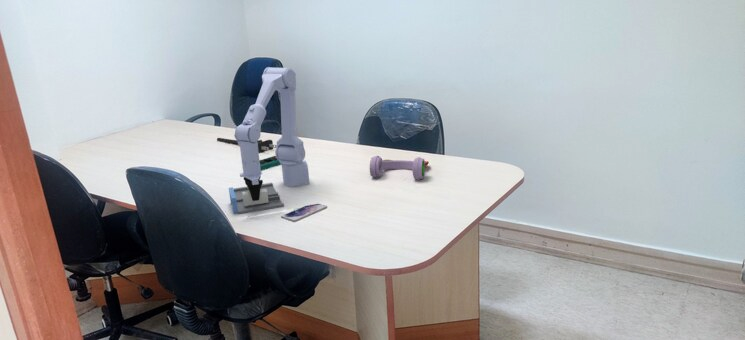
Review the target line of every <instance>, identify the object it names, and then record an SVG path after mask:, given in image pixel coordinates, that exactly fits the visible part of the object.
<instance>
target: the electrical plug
mask: <svg viewBox="0 0 745 340" xmlns="http://www.w3.org/2000/svg"><path fill="white" fill-rule="evenodd" d="M216 141H217V142H221V143H225V144H234V145H238V142H237V140H236V139H229V138H225V137H223V138H222V137H217V139H216ZM257 143H258V152H259V154H262V153H265V152H268V151H272V150H273V149H276V147H277V144H273V143H274V142H273V140H272V139H266V140H262V139H259V140H258V141H257Z"/></svg>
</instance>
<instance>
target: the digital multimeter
mask: <svg viewBox="0 0 745 340" xmlns="http://www.w3.org/2000/svg"><path fill="white" fill-rule="evenodd" d="M259 160H260V169H261V172H262V171H265V170H268V169H272V168H274V167H277V166H280V165H281V166H282V164H281V163H280V161H279V160H278V159H277V158H276V155H273V156H270V157H267V158H263V159H259Z"/></svg>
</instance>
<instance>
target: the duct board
mask: <svg viewBox="0 0 745 340" xmlns="http://www.w3.org/2000/svg"><path fill="white" fill-rule="evenodd" d="M261 189H266V190H267V192H268V197H271V196H277V195H279V193H278V191H276V188H275V187H274V183H273V182H268V183H262V185H261ZM246 191H249V189H248V187H247V186H241V187H228V192H229V200H230V205H232V211H233V214H238V215H242V214H247V213H248V214H249V213H254V212H260V211H261V212H262V211H265V210H266V211H267V210H274V209H277V208H278V209H279V208H284V207H285V204H284V202H283V201H282V200H281V199H280V200H275V201H268V203H262V204H255V205H249V206H244V203H243V195H242V192H246Z"/></svg>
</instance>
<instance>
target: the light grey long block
mask: <svg viewBox="0 0 745 340" xmlns="http://www.w3.org/2000/svg"><path fill="white" fill-rule="evenodd" d="M242 195H243V203H244V206H249V205H255V204H262V203H268V201H275V200H281V198H280V197H281V196H280V195H279V194H278V195H277V196H271V197H268V192H267V190H266V189H260V198H259V200H257V201H253V200H252V197H251V194H250V191H246V192H242Z"/></svg>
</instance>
